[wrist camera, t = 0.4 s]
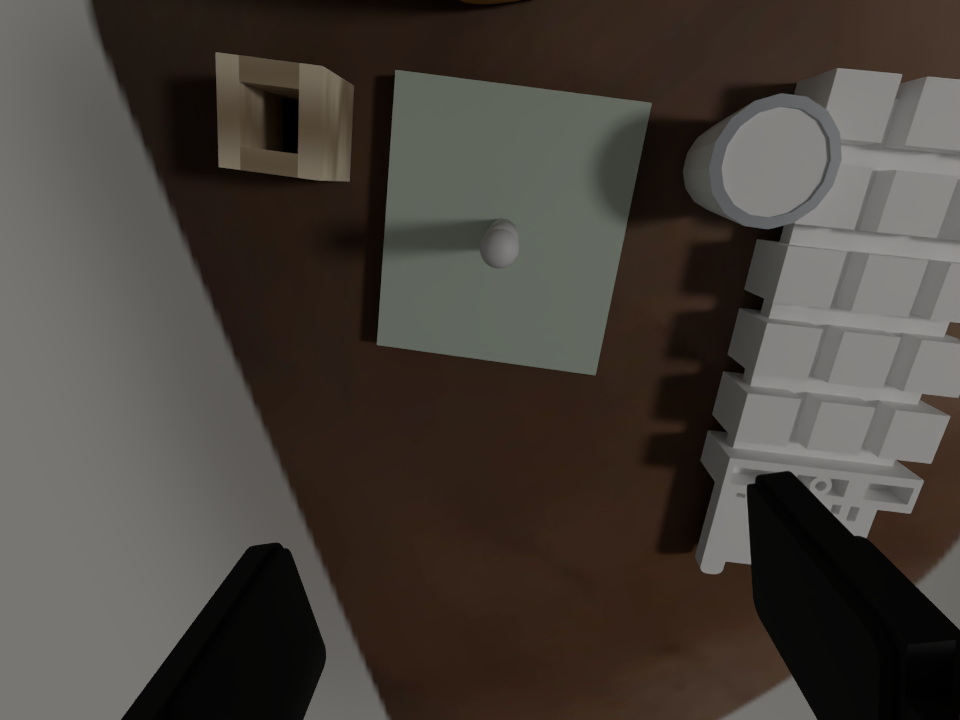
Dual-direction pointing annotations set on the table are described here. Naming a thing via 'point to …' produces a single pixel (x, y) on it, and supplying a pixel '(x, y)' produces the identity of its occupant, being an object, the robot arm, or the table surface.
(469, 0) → the coffee package
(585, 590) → the table surface
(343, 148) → the wooden square ring block
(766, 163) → the shot glass
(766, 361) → the organizer
